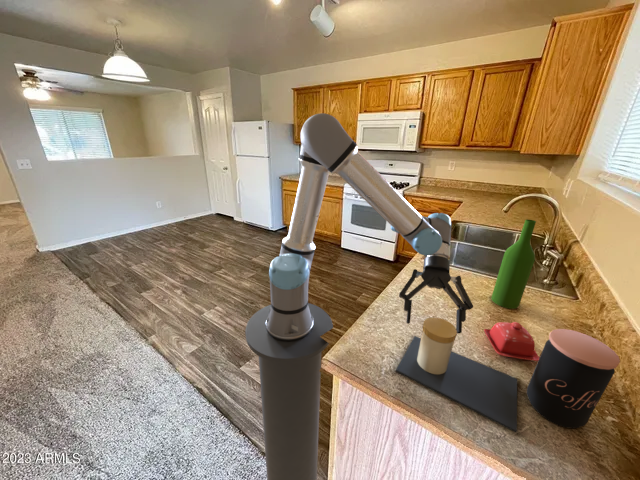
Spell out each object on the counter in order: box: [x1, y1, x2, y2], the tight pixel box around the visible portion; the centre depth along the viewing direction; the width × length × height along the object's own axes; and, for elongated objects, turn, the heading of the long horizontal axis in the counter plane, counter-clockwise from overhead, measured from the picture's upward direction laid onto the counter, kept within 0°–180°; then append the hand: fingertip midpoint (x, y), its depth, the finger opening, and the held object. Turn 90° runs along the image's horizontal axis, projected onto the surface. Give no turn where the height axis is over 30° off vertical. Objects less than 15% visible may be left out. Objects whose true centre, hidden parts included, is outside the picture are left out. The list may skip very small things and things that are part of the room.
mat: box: [395, 335, 518, 433], centre depth 68 cm, size 26×16×1 cm, turn 55°
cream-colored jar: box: [417, 330, 455, 374], centre depth 69 cm, size 8×8×11 cm
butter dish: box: [483, 321, 540, 362], centre depth 77 cm, size 12×12×8 cm
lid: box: [422, 317, 458, 343], centre depth 67 cm, size 8×8×2 cm
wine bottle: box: [490, 218, 537, 310], centre depth 95 cm, size 9×9×32 cm
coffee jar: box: [526, 328, 621, 429], centre depth 57 cm, size 11×11×18 cm
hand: (432, 327), depth 76 cm, fingers open, 13 cm apart
